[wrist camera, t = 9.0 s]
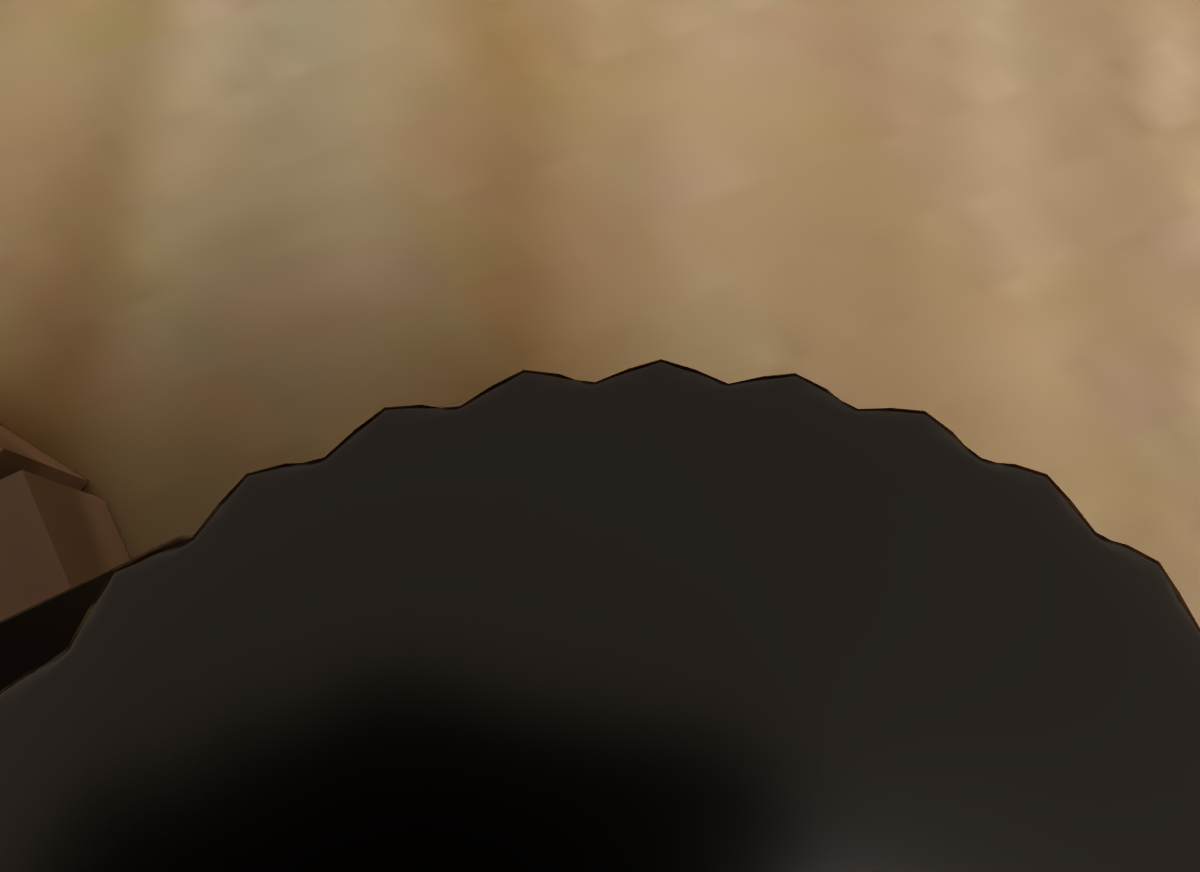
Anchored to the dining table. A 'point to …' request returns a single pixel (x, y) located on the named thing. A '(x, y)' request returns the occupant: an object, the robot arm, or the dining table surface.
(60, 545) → the segmented ring
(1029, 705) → the supplement bottle
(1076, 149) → the dining table surface
